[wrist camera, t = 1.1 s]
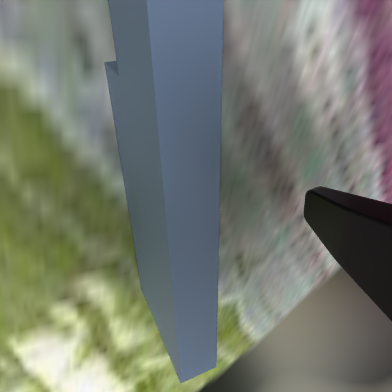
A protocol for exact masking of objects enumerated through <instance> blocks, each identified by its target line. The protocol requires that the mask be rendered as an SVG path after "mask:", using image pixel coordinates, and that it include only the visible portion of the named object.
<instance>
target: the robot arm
mask: <svg viewBox="0 0 392 392" xmlns="http://www.w3.org/2000/svg"><path fill="white" fill-rule="evenodd" d="M304 217H305V219H306V221H307V223H308V224H309V225H310V227H311V228H312V229H313V231H314V232H315V233H316V235H317V236H318V237H319V239H320V240H321V241H322V243H323V244H324V245H325V247H326V248H327V249H328V251H329V252H330V253H331V255H332V256H333V257H334V259H335V260H336V261H337V262H338V263H339V264H340V266H341V267H342V268H343V269H344V270H345V271H346V272H347V273H348V274H349V275H350V277H351V278H352V279H353V280H354V281H355V282H356V283H357V284H358V285H359V286H360V287H361V289H363V291H364V292H365V293H366V294H367V295H368V296H369V297H370V298H371V299H372V300H373V302H375V304H376V305H377V306H378V307H379V308H380V309H381V310H382V311H383V312H384V313H385V314H386V316H387V317H388V318H389V319H390V320H391V321H392V204H390V203H386V202H382V201H378V200H374V199H370V198H366V197H362V196H358V195H354V194H350V193H346V192H342V191H338V190H334V189H330V188H326V187H321V186H319V187H316V188H313V189H311V190H308V191H307V193H306V195H305V205H304Z"/></svg>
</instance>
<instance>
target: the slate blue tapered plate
mask: <svg viewBox="0 0 392 392" xmlns="http://www.w3.org/2000/svg"><path fill="white" fill-rule="evenodd" d="M108 2H109V9H110V16H111V23H112V30H113V37H114V44H115V51H116V58H117V61H113V62H105V68H106V74H107V80H108V86H109V93H110V99H111V105H112V111H113V117H114V123H115V129H116V136H117V142H118V148H119V154H120V160H121V166H122V172H123V179H124V185H125V191H126V197H127V203H128V209H129V216H130V222H131V228H132V234H133V240H134V246H135V252H136V259H137V265H138V271H139V277H140V283H141V289H142V292H143V294H144V296H145V299H146V301H147V304H148V306H149V308H150V311H151V313H152V316H153V318H154V320H155V323H156V325H157V328H158V330H159V332H160V335H161V337H162V340H163V342H164V344H165V347H166V349H167V352H168V354H169V356H170V359H171V361H172V364H173V366H174V368H175V371H176V373H177V376H178V378H179V380H180V383H182V382H184V381H187V380H189V379H191V378H193V377H195V376H197V375H200V374H202V373H204V372H206V371H208V370H210V369H213V368H215V367H216V361H217V309H218V258H219V207H220V156H221V104H222V53H223V2H224V0H108Z"/></svg>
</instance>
